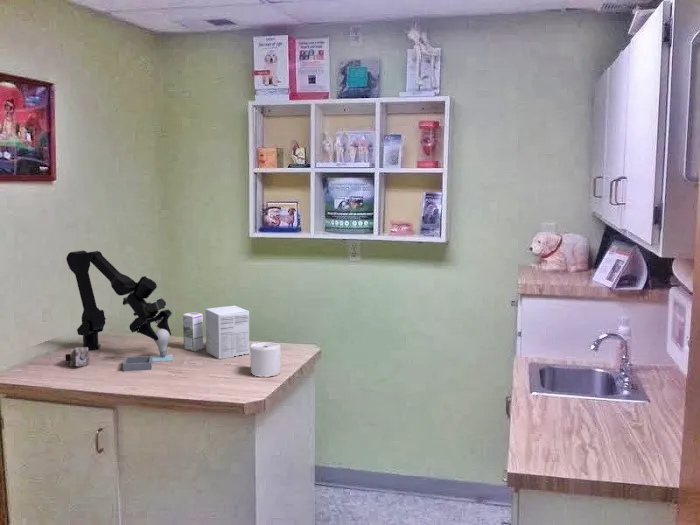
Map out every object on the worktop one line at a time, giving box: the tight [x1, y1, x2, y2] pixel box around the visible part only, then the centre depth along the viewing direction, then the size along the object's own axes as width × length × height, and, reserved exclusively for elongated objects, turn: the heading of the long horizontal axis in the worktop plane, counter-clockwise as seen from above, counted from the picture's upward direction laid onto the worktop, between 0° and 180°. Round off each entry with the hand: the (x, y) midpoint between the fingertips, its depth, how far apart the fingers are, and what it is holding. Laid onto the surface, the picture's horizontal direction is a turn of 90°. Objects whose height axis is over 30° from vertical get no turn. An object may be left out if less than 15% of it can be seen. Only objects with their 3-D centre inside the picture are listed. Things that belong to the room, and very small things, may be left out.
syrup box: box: [182, 311, 204, 352], centre depth 271 cm, size 6×6×14 cm
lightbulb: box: [153, 328, 171, 357], centre depth 257 cm, size 6×6×11 cm
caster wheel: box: [65, 346, 90, 367], centre depth 249 cm, size 7×11×10 cm
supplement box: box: [205, 305, 250, 360], centre depth 265 cm, size 13×13×18 cm
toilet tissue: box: [249, 341, 282, 376], centre depth 240 cm, size 11×12×10 cm
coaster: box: [150, 353, 174, 363], centre depth 257 cm, size 8×8×1 cm
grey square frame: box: [122, 355, 153, 372], centre depth 247 cm, size 10×10×2 cm
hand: (164, 337), depth 256 cm, fingers open, 7 cm apart
